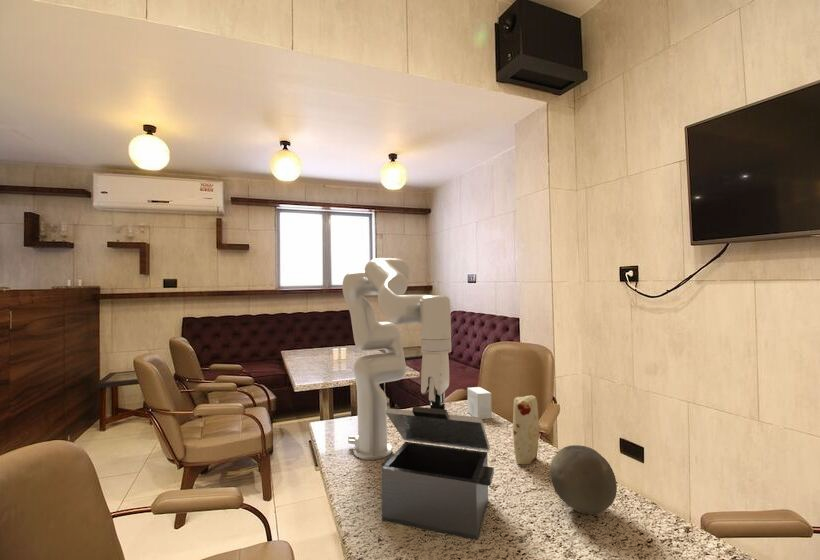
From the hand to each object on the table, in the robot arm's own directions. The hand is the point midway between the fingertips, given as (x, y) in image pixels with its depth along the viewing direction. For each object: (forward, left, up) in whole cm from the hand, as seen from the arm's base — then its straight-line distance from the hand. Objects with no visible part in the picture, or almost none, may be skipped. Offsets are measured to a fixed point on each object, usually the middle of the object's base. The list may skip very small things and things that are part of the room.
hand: (437, 420), depth 93 cm
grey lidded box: (0, -1, -21) cm, 21 cm away
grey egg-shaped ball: (+33, +9, -21) cm, 40 cm away
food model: (+19, +32, -21) cm, 43 cm away
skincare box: (-2, +70, -21) cm, 73 cm away
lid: (0, 0, -2) cm, 2 cm away
